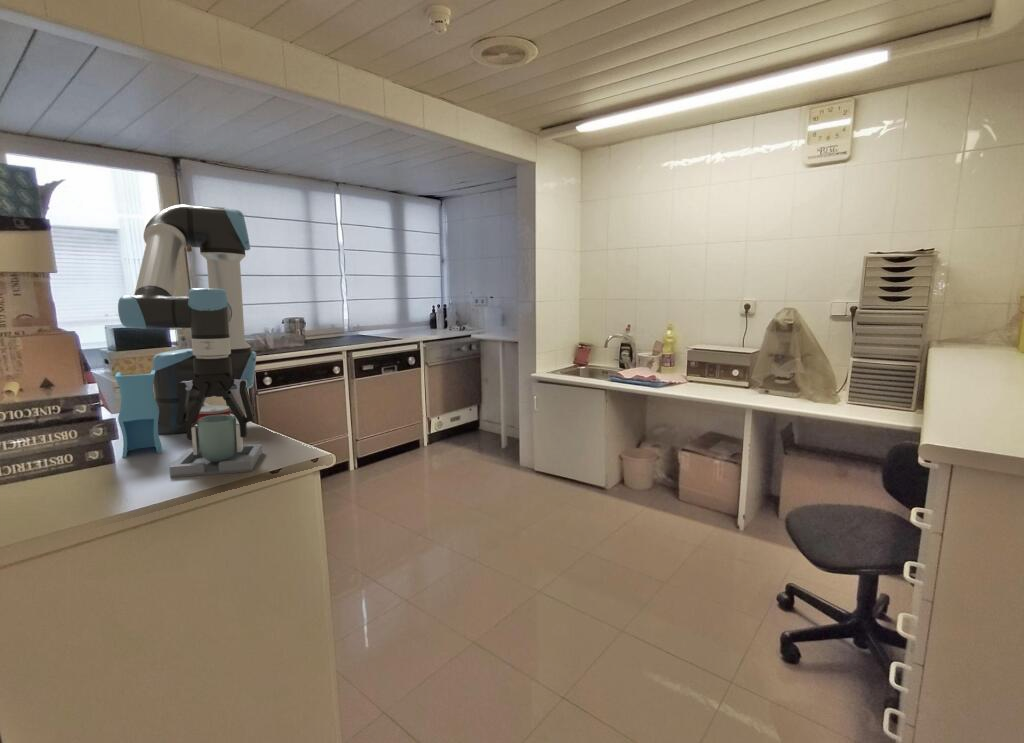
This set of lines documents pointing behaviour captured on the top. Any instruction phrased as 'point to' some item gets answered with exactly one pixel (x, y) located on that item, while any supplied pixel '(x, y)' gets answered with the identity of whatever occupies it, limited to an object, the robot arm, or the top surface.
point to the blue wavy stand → (138, 412)
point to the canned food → (213, 411)
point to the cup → (217, 437)
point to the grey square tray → (216, 463)
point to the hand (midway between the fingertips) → (218, 451)
